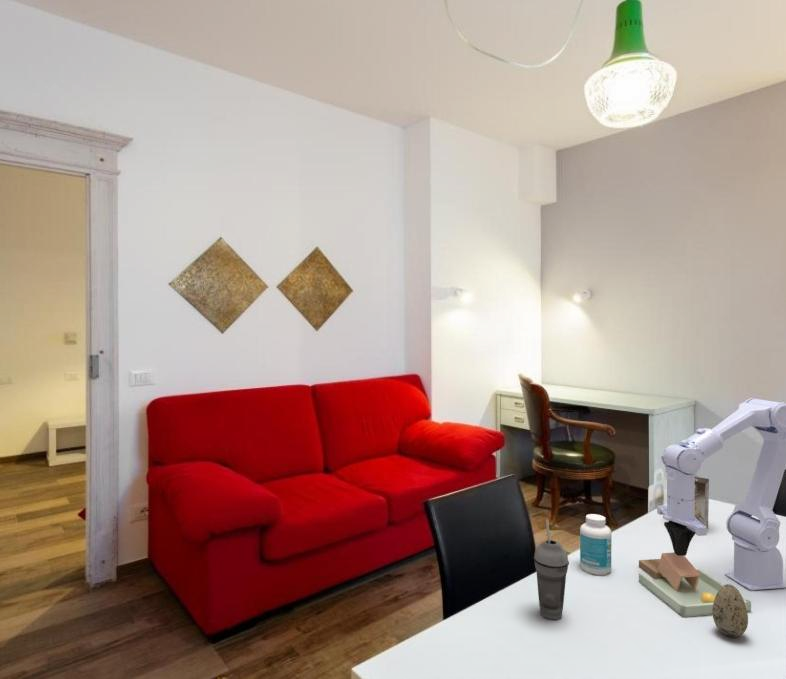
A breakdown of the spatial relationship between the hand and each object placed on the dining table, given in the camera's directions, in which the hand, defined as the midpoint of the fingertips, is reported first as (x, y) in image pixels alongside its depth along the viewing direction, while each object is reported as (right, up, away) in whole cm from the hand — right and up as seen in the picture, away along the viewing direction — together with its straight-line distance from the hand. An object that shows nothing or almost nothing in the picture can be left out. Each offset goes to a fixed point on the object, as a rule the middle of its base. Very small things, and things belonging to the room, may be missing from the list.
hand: (680, 554), depth 122 cm
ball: (+1, -5, -10) cm, 11 cm away
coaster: (-1, -8, +7) cm, 11 cm away
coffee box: (+23, -8, +36) cm, 43 cm away
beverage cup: (-34, -8, -11) cm, 37 cm away
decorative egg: (-1, -8, -19) cm, 21 cm away
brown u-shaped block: (-1, -3, +4) cm, 5 cm away
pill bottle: (-16, -8, +9) cm, 20 cm away
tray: (0, -8, -4) cm, 9 cm away
